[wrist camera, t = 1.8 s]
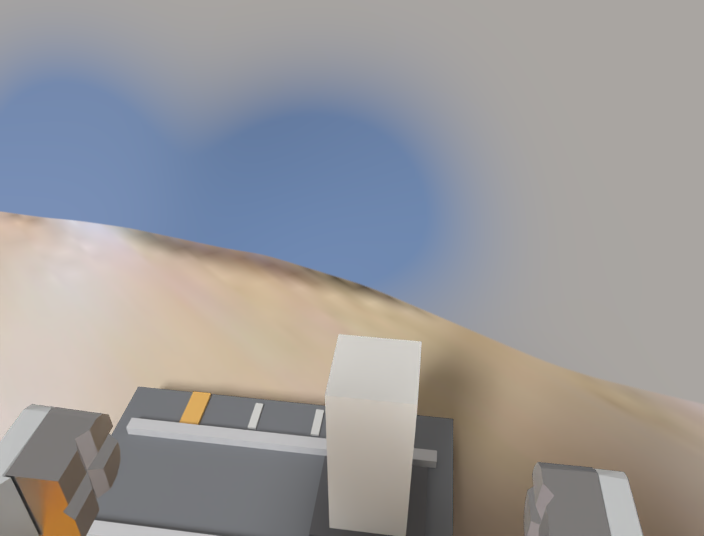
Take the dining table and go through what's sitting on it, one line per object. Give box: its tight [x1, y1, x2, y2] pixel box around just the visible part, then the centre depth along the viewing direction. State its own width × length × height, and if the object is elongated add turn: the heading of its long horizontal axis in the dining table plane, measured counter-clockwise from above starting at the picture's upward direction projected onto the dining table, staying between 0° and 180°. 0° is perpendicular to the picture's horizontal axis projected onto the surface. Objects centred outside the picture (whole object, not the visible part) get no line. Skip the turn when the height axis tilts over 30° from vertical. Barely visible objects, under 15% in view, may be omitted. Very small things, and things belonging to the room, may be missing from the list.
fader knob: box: [309, 334, 428, 536], centre depth 32 cm, size 6×5×10 cm
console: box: [86, 387, 453, 536], centre depth 36 cm, size 21×14×3 cm, turn 82°
